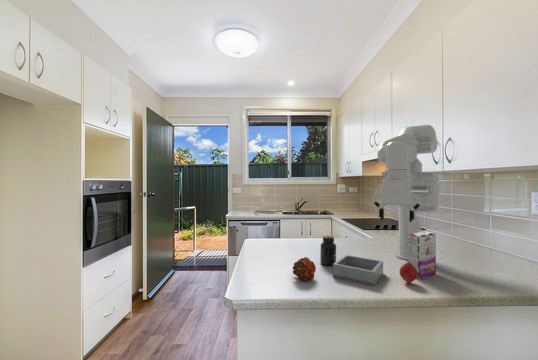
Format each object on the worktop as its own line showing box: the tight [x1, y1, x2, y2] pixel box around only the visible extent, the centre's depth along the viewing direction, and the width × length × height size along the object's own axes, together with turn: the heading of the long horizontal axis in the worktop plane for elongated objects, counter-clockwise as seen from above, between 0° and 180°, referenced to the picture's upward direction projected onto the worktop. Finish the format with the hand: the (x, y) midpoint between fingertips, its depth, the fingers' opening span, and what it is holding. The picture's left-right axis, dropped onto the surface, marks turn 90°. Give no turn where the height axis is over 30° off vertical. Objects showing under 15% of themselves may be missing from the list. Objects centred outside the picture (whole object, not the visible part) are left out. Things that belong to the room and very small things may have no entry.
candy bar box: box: [407, 230, 437, 279], centre depth 103 cm, size 11×5×16 cm, turn 117°
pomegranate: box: [399, 260, 418, 284], centre depth 94 cm, size 6×6×8 cm
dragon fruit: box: [292, 256, 317, 282], centre depth 99 cm, size 8×8×12 cm
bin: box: [332, 254, 384, 287], centre depth 102 cm, size 15×15×5 cm
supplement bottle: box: [319, 235, 337, 267], centre depth 115 cm, size 7×7×12 cm
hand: (396, 220), depth 98 cm, fingers open, 9 cm apart
